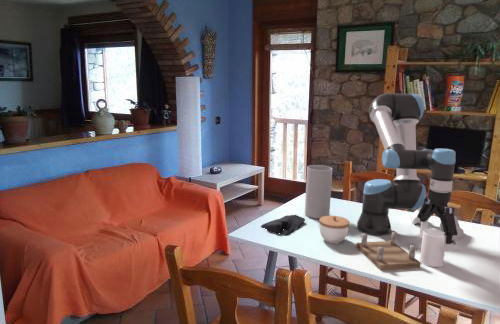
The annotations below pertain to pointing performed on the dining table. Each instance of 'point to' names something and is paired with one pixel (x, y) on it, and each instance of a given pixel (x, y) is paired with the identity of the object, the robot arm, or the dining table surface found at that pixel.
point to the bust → (415, 217)
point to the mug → (432, 248)
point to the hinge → (459, 231)
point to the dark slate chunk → (284, 224)
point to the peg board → (388, 254)
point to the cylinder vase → (318, 191)
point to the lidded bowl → (333, 228)
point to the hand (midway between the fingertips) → (433, 244)
